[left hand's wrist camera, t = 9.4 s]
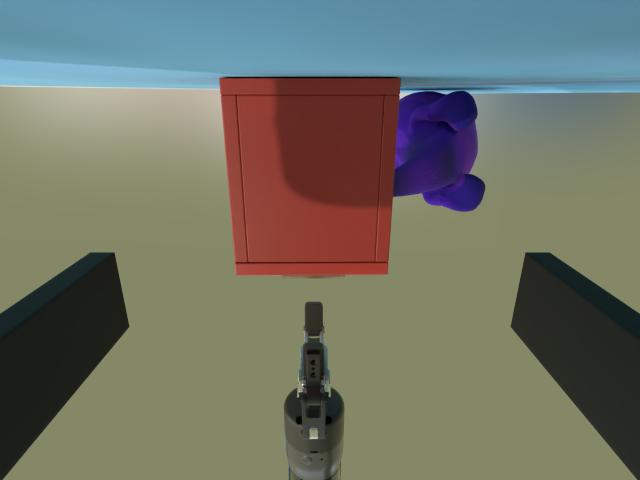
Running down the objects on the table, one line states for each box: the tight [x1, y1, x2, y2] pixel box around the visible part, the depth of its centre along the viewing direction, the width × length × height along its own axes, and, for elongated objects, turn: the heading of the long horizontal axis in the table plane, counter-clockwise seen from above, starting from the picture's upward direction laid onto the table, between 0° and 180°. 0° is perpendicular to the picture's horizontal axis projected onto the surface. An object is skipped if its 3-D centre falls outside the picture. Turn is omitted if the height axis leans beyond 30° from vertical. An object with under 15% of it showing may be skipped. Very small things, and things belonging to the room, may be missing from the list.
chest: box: [219, 78, 401, 262], centre depth 31 cm, size 17×10×11 cm, turn 179°
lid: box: [235, 261, 388, 278], centre depth 35 cm, size 18×10×8 cm, turn 179°
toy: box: [393, 91, 485, 212], centre depth 57 cm, size 16×18×27 cm
